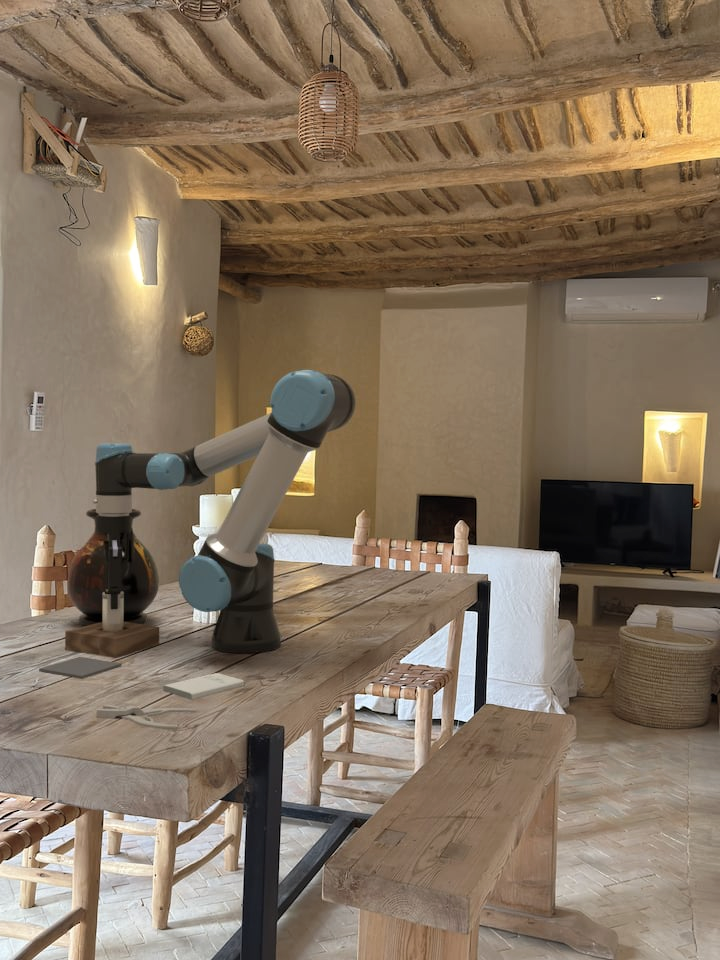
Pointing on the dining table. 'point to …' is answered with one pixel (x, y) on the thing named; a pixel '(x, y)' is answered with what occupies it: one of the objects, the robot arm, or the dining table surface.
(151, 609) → the dining table surface
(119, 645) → the socket block
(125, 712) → the pliers
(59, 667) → the mat
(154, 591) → the amphora vase
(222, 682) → the external hard drive
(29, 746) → the dining table surface
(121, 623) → the plug
